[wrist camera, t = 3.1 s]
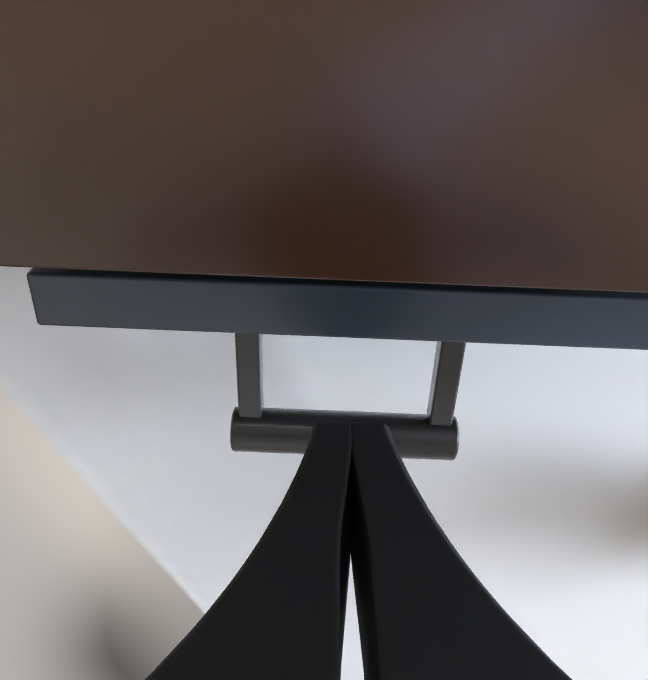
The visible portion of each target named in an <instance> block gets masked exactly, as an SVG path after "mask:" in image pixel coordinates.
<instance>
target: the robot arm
mask: <svg viewBox="0 0 648 680" xmlns="http://www.w3.org/2000/svg"><path fill="white" fill-rule="evenodd" d="M350 554H351V561H352V570H353V579H354V588H355V597H356V606H357V615H358V624H359V633H360V641H361V650H362V659H363V668H364V680H572V679H571V678H570V677H569V676H568V675H567V674H566V673H565V672H563V671H562V670H561V669H560V668H559V667H558V666H557V665H556V664H555V663H554V662H553V661H552V660H551V659H550V658H549V657H548V656H547V655H546V654H545V653H544V652H543V651H542V650H541V649H540V648H539V647H538V646H537V644H536V643H535V642H534V641H533V640H532V639H531V638H530V637H529V636H528V635H527V634H526V633H525V632H524V631H523V630H522V629H521V628H520V627H519V626H518V625H517V624H516V622H515V621H514V620H513V619H512V618H511V617H510V616H509V615H508V614H507V613H506V612H505V611H504V609H503V608H502V607H501V606H500V605H499V604H498V602H497V601H496V600H495V599H494V598H493V597H492V595H491V594H490V593H489V592H488V591H487V589H486V588H485V587H484V586H483V585H482V583H481V582H480V581H479V580H478V578H477V577H476V576H475V575H474V573H473V572H472V571H471V569H470V568H469V567H468V566H467V564H466V563H465V562H464V560H463V559H462V558H461V556H460V555H459V553H458V552H457V551H456V549H455V548H454V546H453V545H452V544H451V542H450V541H449V539H448V538H447V536H446V535H445V533H444V532H443V530H442V529H441V527H440V526H439V524H438V523H437V521H436V520H435V518H434V517H433V515H432V513H431V512H430V510H429V509H428V507H427V505H426V503H425V502H424V500H423V498H422V497H421V495H420V493H419V491H418V490H417V488H416V486H415V484H414V483H413V481H412V479H411V477H410V475H409V473H408V471H407V469H406V467H405V465H404V463H403V461H402V459H401V457H400V455H399V453H398V450H397V448H396V446H395V443H394V441H393V438H392V435H391V432H390V429H389V427H388V426H387V425H386V424H385V423H357V422H318V423H317V424H316V425H315V426H313V428H312V432H311V437H310V440H309V443H308V446H307V449H306V452H305V454H304V457H303V459H302V461H301V464H300V466H299V468H298V471H297V473H296V475H295V477H294V479H293V481H292V483H291V485H290V487H289V489H288V491H287V493H286V495H285V497H284V499H283V501H282V503H281V505H280V507H279V508H278V510H277V512H276V513H275V515H274V517H273V519H272V520H271V522H270V524H269V525H268V527H267V529H266V530H265V532H264V534H263V536H262V537H261V539H260V540H259V542H258V543H257V545H256V546H255V548H254V550H253V551H252V553H251V554H250V556H249V557H248V558H247V560H246V561H245V563H244V564H243V566H242V567H241V568H240V570H239V571H238V573H237V574H236V575H235V577H234V578H233V580H232V581H231V582H230V584H229V585H228V586H227V587H226V589H225V590H224V591H223V592H222V594H221V595H220V596H219V597H218V599H217V600H216V601H215V603H214V604H213V605H212V606H211V608H210V609H209V610H208V611H207V613H206V614H205V615H204V616H203V617H202V619H201V620H200V621H199V622H198V623H197V624H196V626H195V627H194V628H193V629H192V630H191V631H190V632H189V633H188V635H187V636H186V637H185V638H184V639H183V640H182V641H181V642H180V643H179V644H178V645H177V646H176V647H175V648H174V649H173V651H172V652H171V653H170V654H169V655H168V656H167V657H166V658H165V659H164V660H163V661H162V662H161V664H160V665H159V666H158V667H157V668H156V669H155V670H154V671H153V672H152V673H151V674H150V675H149V676H148V677H147V678H146V679H145V680H340V677H341V661H342V649H343V637H344V625H345V613H346V602H347V590H348V578H349V566H350Z"/></svg>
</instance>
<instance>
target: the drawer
mask: <svg viewBox="0 0 648 680" xmlns="http://www.w3.org/2000/svg"><path fill="white" fill-rule="evenodd" d="M27 279H28V284H29V288H30V292H31V297H32V301H33V305H34V310H35V314H36V318H37V322H38V324H40V325H58V326H82V327H107V328H131V329H155V330H179V331H204V332H228V333H235V346H236V367H237V389H238V407H235V408H234V410H233V414H232V419H231V429H230V443H231V448H232V450H233V451H241V452H265V453H289V454H305V452H306V449H307V446H308V443H309V440H310V437H311V432H312V428H313V426H315V425H316V424H317V423H318V422H357V423H385V424H386V425H387V426H388V427H389V429H390V432H391V435H392V438H393V441H394V443H395V446H396V448H397V450H398V453H399V455H400V457H401V458H408V459H431V460H454V459H455V458H456V456H457V452H458V446H459V429H458V423H457V420H456V417H455V416H453V415H454V409H455V403H456V398H457V392H458V386H459V380H460V375H461V369H462V363H463V357H464V352H465V346H466V342H471V343H495V344H519V345H544V346H568V347H592V348H617V349H641V350H648V293H646V292H621V291H597V290H572V289H548V288H523V287H499V286H474V285H450V284H425V283H401V282H376V281H352V280H327V279H303V278H278V277H254V276H229V275H204V274H180V273H155V272H131V271H106V270H82V269H57V268H32V269H31V270H30V271H29V272H28V273H27ZM262 334H277V335H301V336H325V337H349V338H374V339H398V340H422V341H437V348H436V355H435V361H434V368H433V375H432V382H431V389H430V395H429V402H428V409H427V414H404V413H380V412H356V411H332V410H308V409H284V408H263V363H262Z"/></svg>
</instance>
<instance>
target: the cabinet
mask: <svg viewBox="0 0 648 680" xmlns="http://www.w3.org/2000/svg"><path fill="white" fill-rule="evenodd" d="M0 266H8V267H33V268H57V269H82V270H106V271H131V272H155V273H180V274H204V275H229V276H254V277H278V278H303V279H327V280H352V281H376V282H401V283H425V284H450V285H474V286H499V287H523V288H548V289H572V290H597V291H621V292H646V293H648V0H0Z"/></svg>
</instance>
